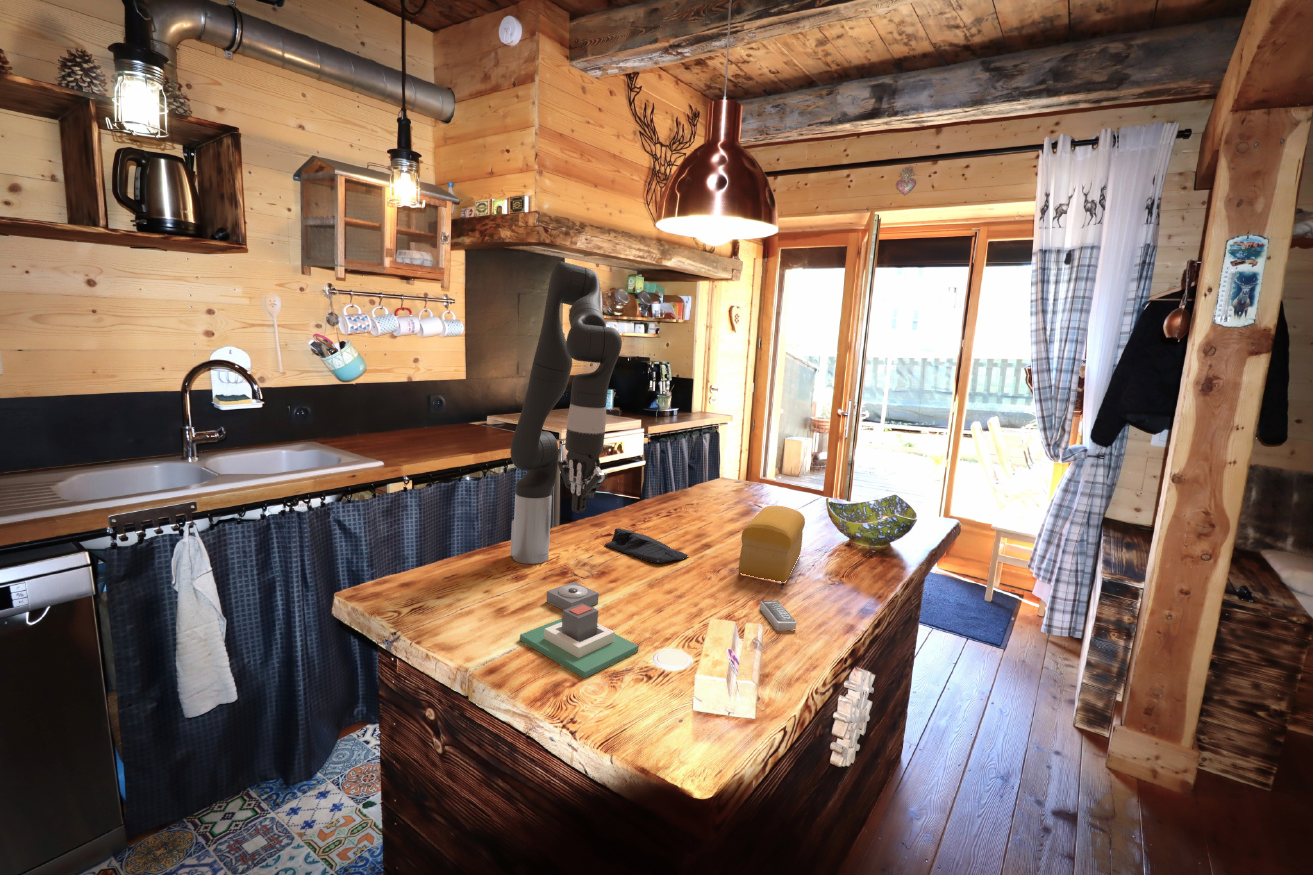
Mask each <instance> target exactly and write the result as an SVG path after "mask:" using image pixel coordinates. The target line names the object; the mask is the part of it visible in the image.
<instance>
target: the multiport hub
mask: <svg viewBox="0 0 1313 875" xmlns="http://www.w3.org/2000/svg"><path fill="white" fill-rule="evenodd" d="M759 604H760V605H759V611H760V612H761V613H762V614H763V616H765V618H766V619H767V621H768V622H769V624H771V626H772V627H773V628H774V629H776V630H777V631H776V630H775V631H776V632H784V631H783V630H793V629H797V623H798V622H797V620H795V618H794V617H793V616H792V615H791V614H790V612H789V611H788V610H787V608H785V607H784V605H783V604H782V603H781V602H780V601H778V600H760V603H759Z"/></svg>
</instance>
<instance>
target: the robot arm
mask: <svg viewBox="0 0 1313 875" xmlns="http://www.w3.org/2000/svg"><path fill="white" fill-rule="evenodd" d="M546 294H547V295H546V300H545V301H546V302H545V307H544V313H543V318H542V325H541V329H540V333H539V337H538V340H537V345H536V349H535V352H534V357H533V360H532V365H531V370H530V375H529V381H528V385H527V390H526V393H525V396H524V397H525V398H524V401H523V404H522V410H521V412H520V415H519V419H518V421H517V424H516V427H515V430H514V434H513V436H512V439H511V443H510V444H511V445H510V450H509V451H510V453H509V454H510V459H511V462H512V464H513V466H514V467H515V468H517V469H518V470H523V471H527V470H528V471H527V472H526V474H525V475H524V476H523V477H522V478H520V479H519V480H518V481H517V482H516V484H515V492H514V493H515V494H514V495H515V496H514V516H513V517H514V519H512V521H511V531H510V532H511V534H510V536H511V537H510V554H509V555H510V556H511V557H512V559H513V560H514V561H515V562H516V563H520V564H527V565H528V564H530V565H531V564H532V565H533V564H534V565H535V564H540V563H542V564H543V563H545V562H546V561H548V559H549V557H550V556H549V554H550V553H549V552H550V538H551V536H550V535H551V520H552V517H551V516H552V500H553V496H552V495H553V489H554V487H555V485H556V482H557V472H558V469H559V471H560V474H561V477H562V481H563V483H564V485H565V486H564V487H565V488H566V489H570V492H571V494H572V495H571V511H572V512H574V513H576V514H581V513H584V512H585V510H586V509H587V503H588V502H587V500H588V495H592V494H596V493H597V491H598V490H599V489H600V488H601V486H602V485H603V484H604V483H605V482H606V480H607V479H608V477H609V476H608V473H607V472H603V471H602V469H601V468H600V467H601V461H600V455H601V454H602V453H603V451H604V443H605V436H606V435H605V433H606V425H607V424H606V423H607V402H608V391H609V385H610V380H611V377H612V374H613V371H614V369H615V366H616V364H617V361H618V359H619V357H620V353H621V350H622V347H623V339H622V336H621V334H620V332H619V330H617V329H616V328H614V327H611V326H607V323H606V320H605V317H604V315H603V312H602V309H601V284H600V277H599V275H598V274H597V271H595V270H593V269H591V268H588V267H585V266H580V265H577V264H574V263H570V262H565V261H557V262H556V263H555V264H554V265H553V267H552V270H551V273H550V278H549V283H548V287H547V293H546ZM561 304H565V305H569V306H571V307H570V308H569V312H568V320H569V326H570V328H569V331H568V333H567V336H565V334H564V331H563V327H562V324H561V316H560V314H561V313H560V308H561ZM573 360H574V361H576V362H577V361H578V362H584V363H585V362H586V363H596V364H599V365H598V367H597V368H596V369H595V370H594V371H592V372H587V373H585V372H584V373H579V374H576V375H574V377H573V378H572V381H571V391H570V404H569V408H568V413H567V420H566V432H565V442H564V443H565V444H564V448H565V450H566V451H567V453H566V454H565V455H566V456H565V457H566V458H564V459H562V460H559V444H558V441H557V439H556V437H555V436H554V434H553V433H551V432H549V431H546V430H543V428H544V424H545V422H546V419H547V417H549V414H550V413H551V412H552V410H553V409H554V407H555V406H556V404H558V402H559V401H560V399H561V398H562V397H563V395H564V393H566V389H567V387H568V384H569V380H570V376H571V372H572V367H573Z"/></svg>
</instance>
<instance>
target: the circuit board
mask: <svg viewBox="0 0 1313 875" xmlns="http://www.w3.org/2000/svg"><path fill="white" fill-rule="evenodd" d="M562 618H563V616H562V617H561V618H559V619H557V620H553V621H551V622H549V623H545V624H544V625H541V626H538V627H535V628H534V629H530V630H528V631H526V632H523V633H520V634H519V641H520V642H522V643H524V644H525V645H526V646H529V647H530V648H532V649H534V650H535V651H537V652H539V653H541V654H542V655H544V656H546V657H547V658H549V659H551V660H552V661H554V662H555V663H557V664H558V665H561V666H562V667H564V668H565V669H568V670H570V671H571V672H573V673H574V674H576V675H578V676H579V677H581V678H583V679H587V678H588V677H590V676H593V675H595V674H597V673H598V672H600V671H602V670H604V669H607V668H608V667H610V666H612V665H614V664H616V663H618V662H620V661H623V660H624V659H626V658H628V657H630V656H632V655H634V654H636V653H638V652H639V646H640V645H638V644H636V643H634V642H632V641H630V640H628V639H626V638H624V637H622V636H621V635H618V634H616V633H615V630H614V631H613V630H612V629H610V628H609V627H606V626H603V625H602V624H600V623H598V622H597V635H595V636H593V637H591V638H588V639H586V640H584V641H582V642H578V641H576V640H574V639H573V638H571V637H569V636H567V635H565V634H563V633H562Z"/></svg>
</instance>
